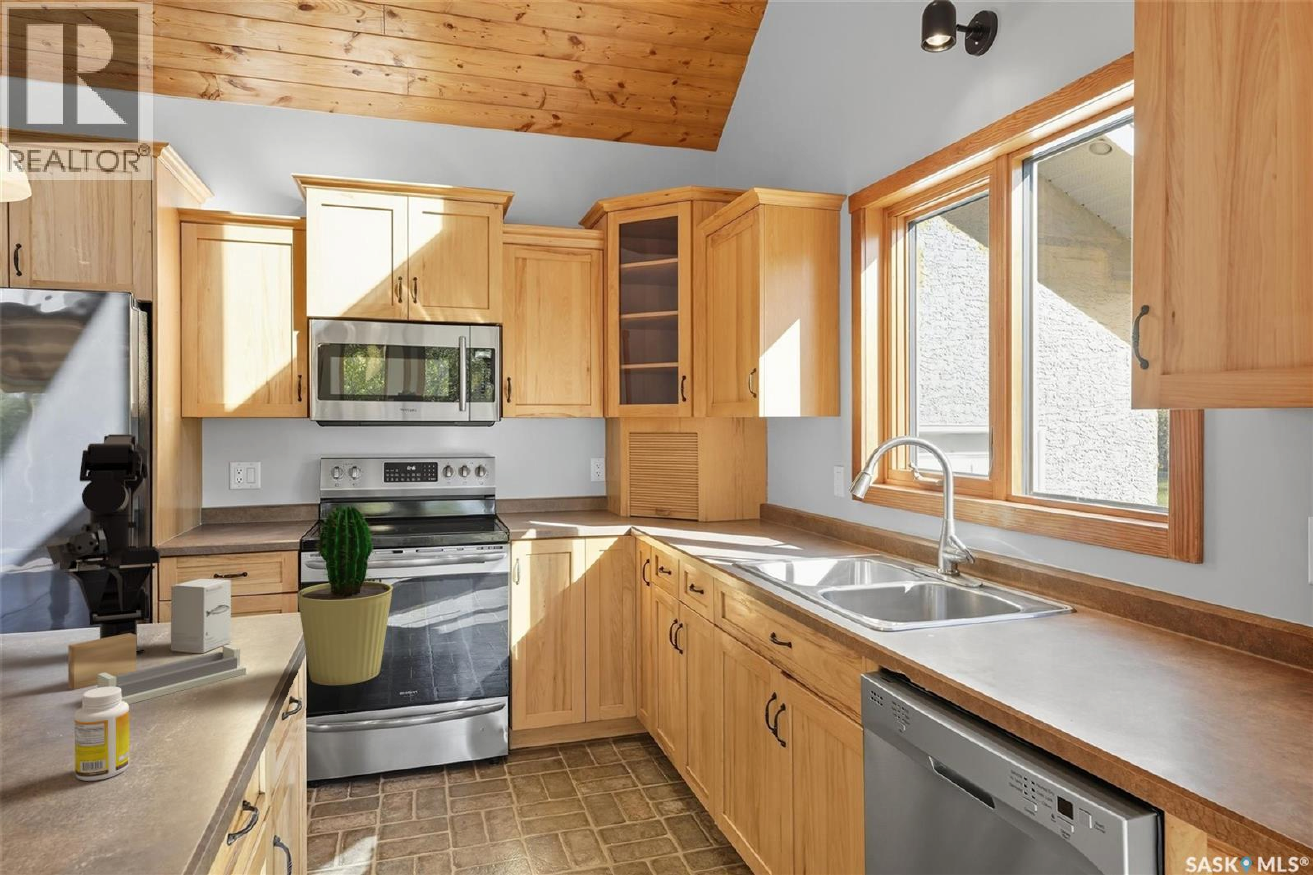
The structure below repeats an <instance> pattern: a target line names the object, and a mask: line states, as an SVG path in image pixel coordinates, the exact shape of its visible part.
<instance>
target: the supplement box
mask: <svg viewBox="0 0 1313 875" xmlns="http://www.w3.org/2000/svg"><path fill="white" fill-rule="evenodd" d="M170 589H171V591H170V592H171V593H170V594H171V595H170V596H171V597H170V651H171V652H179V653H180V652H182V653H189V654H191V653H192V654H205V653H207V652H209V651H211V650H214V649H218V648H220V647H223V646H224V645H230V643H231V639H232V638H231V637H232V636H231V632H232V629H231V628H232V627H231V625H232V624H231V623H232V622H231V620H232V579H222V578H220V579H218V578H217V579H216V578H197V579H194V580H190V581H185V582H181V583H176V584H173V585H171V588H170Z"/></svg>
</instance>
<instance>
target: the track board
mask: <svg viewBox="0 0 1313 875" xmlns="http://www.w3.org/2000/svg"><path fill="white" fill-rule="evenodd" d="M245 674H247V667H245V666H242V665H241V648H239V647H236V646H234V645H230V644H226V645H223V646H222V651H217V652H212V653H207V654H205V655H200V656H195V657H191V658H187V659H181V660H177V661H173V662H170V663H165V664H160V665H156V666H151V667H148V668H142V669H140V670H139V669H138V670H136V671H134V672H130V673H125V674H121V675H117V676H112V675H110V674H108V673H106V672H105V673H101V674H98V685H97V688H101V687H112V686H113V687H119V688H121V695H122V698H121V699H122V700H121V701H124V702H126V703H127V704H128V705H131V704H134V703H138V702H139V703H140V702H143V701H146V700H149V699H150V700H151V699H154V698H158V697H161V696H165V695H171V694H173V693H176V692H181V691H184V690H189V689H192V688H196V687H199V686H200V687H201V686H203V685H207V684H211V683H215V682H218V681H223V680H226V679H227V680H228V679H230V678H233V677H238V676H241V675H245Z"/></svg>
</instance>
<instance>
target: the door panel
mask: <svg viewBox="0 0 1313 875" xmlns="http://www.w3.org/2000/svg"><path fill="white" fill-rule="evenodd" d="M67 647H68V649H67V650H68V652H67V653H68V654H67V657H68V659H67V660H68V661H67V662H68V663H67V664H68V668H67V669H68V670H67V671H68V673H67V674H68V684H67V686H68V688H69V689H70V690H74V691H77V690H81V689H82V690H83V689H86V688H90V687H94V686H95V687H96V686H98V674H101V673H105V672H106V673H108V674H110V675H112V676H117V675H121V674H125V673H130V672H134V671H137V653H136V635H134V634H132V633H128V634H123V635H118V636H112V637H107V638H102V639H100V638H98V639H92V640H88V641H83V642H77V643H72V644H68V646H67Z"/></svg>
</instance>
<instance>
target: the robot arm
mask: <svg viewBox="0 0 1313 875" xmlns="http://www.w3.org/2000/svg"><path fill="white" fill-rule="evenodd" d="M137 441H138V440H137V436H136V435H134V434H124V433H123V434H119V433H118V434H117V433H116V434H113V433H112V434H108V435H104V437H103V442H102V443H89V444H88V445H87V449H85V450H84V449H83V451H82V454H81V455H82V457H81V463H80V472H79V482H81V483H83V482H86V483H87V482H88V483H87V485H86V486H84V488H83V490H82V493H81V499H82V500H81V501H82V503H83V504H84V506H85V507H86V509H88V510H89V511H88V512H89V513H88V514H89V516H88V517H89V519H88V523H84V524H82V526H81V530H80V532H79V531H78V532H77V533H75V534H71V535H70V536H69V537H68V538H64V539H62V540H59V541H56V542H53V543H51V544H48V545H46V549H47V552H48V554H49V557H50V558H51V562H52V564H53V565H56V564H59V570H60V571H62V570H63V571H64V570H69V571H64V574H65V575H66V576H70V577H71V578H72V579H74V580H75V581H76V582H77V583H78V585H79V588H80V590H81V592H82V593H81V594H82V596H83V599H84V601H85V604H86V607H87V609H88V613H89V614H88V615H89V626H95V625H99V639H102V638H107V637H112V636H118V635H123V634H128V633H132V634H134V635H136V654H139V653H144V652H146V649H145V648H144V647H141V646H139V645H138V621H145V620H146V619H149V618H151V617H150V614H151V613H150V611H151V609H150V595H149V593H147V591H146V589H145V587H143V585H144V584H145V582H146V581H147V578H148V577H149V575H150V573H151V572H152V570H155V569H156V565H152V564H160V563H161V551H160V550H159V549H158V548H157V547H156V546H144V547H143V546H142V547H141V546H139V547H137V546H136V545H134V531H135V530H134V528H137V521H135V502H136V500H137V499H138V498H139V497H140V495H141V494H142V493H143V492H144V490H145V481H146V480H147V479H148V480H149V477H150V476H149V474H150V473H149V471H150V467H149V466H150V462H149V453H148V451H147V450H146V449H145V448H144V447H142V446H141V445H140V444H139V443H138V442H137ZM100 568H101V569H100Z"/></svg>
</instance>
